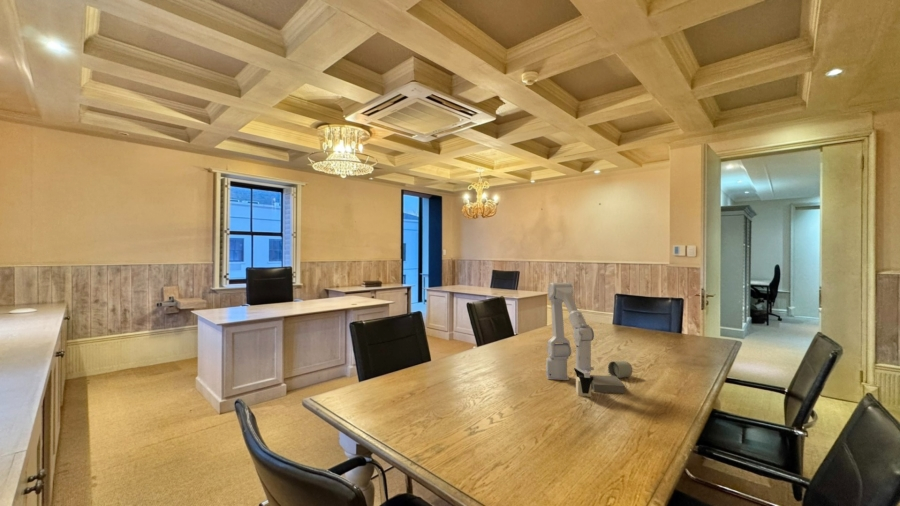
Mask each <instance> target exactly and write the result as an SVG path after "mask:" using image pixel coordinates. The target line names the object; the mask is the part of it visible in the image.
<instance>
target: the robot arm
mask: <svg viewBox="0 0 900 506" xmlns="http://www.w3.org/2000/svg"><path fill="white" fill-rule="evenodd" d="M573 295H574V286H573V284H572V282H570V281H569V282H550V283H549V285H548V287H547V297H548V298H547V299H548V301H550V310H551V311H550V312H551V326H552V337H551V338H549V339H548V340H547V345H546V353H547V355H548V357H546V359H545V376H546V378H547V379H548V380H560V381H569V380H570V378H569V376H568V360H569V357H571V355H572V347H571V343H570V340H569V339H568V338H566V336H565V327H564V326H565V324H564V310H563V303H564V306H565V307H566V309H567V311H568V313H569V315H568V319H569V322H570V324H571V326H572V328H573V332H572V335H573V339H574V344H575V367H574V368H573V370H574V373H575V375H576V377H579V379H580V382H581V387H582V392H583V393H586V394H588V393H589V389H590V385H591V382H592V381H593V379H594V377H593V376H590V375H591V371H594V370H595V367H594V366H592V363H591V362H592V356H591V355H592V341H593V340H594V339H595V332H594V329H593V328H592V326H590V325H589V324H587V322H586V319H585V318H584V316H583V315H584V314H583V313H582V311H579V310H578V307H577V303H576V302H575V299H574V296H573Z"/></svg>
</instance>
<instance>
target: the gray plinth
mask: <svg viewBox="0 0 900 506" xmlns="http://www.w3.org/2000/svg"><path fill="white" fill-rule="evenodd" d="M590 376H593V377H594V379H593V381H592V382H591V390H593V392H596V393H612V394H613V393H614V394H625V393H626V386H625V384H624V383H623V382H622V381H621V379H620V378H617V377H616V376H611V375H600V374H599V375H597V374H595V375H594V374H590Z"/></svg>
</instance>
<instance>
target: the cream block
mask: <svg viewBox="0 0 900 506" xmlns="http://www.w3.org/2000/svg"><path fill="white" fill-rule="evenodd" d="M575 392H576V394H577V396H579V397H592V387H591V385H590V389H589V393H588V394H586V393H583V392H582V387H581V382H580V379H579V377H577V376H575Z"/></svg>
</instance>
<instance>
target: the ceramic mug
mask: <svg viewBox="0 0 900 506" xmlns="http://www.w3.org/2000/svg"><path fill="white" fill-rule="evenodd" d="M607 373H608V374H609V376H616V377H617V378H618V379H621V378H628V377H630V376H632V374H633V367H632V365H631V364H630V362H628V361H625V360H611V361H610V362H609V363H608V366H607Z"/></svg>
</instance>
